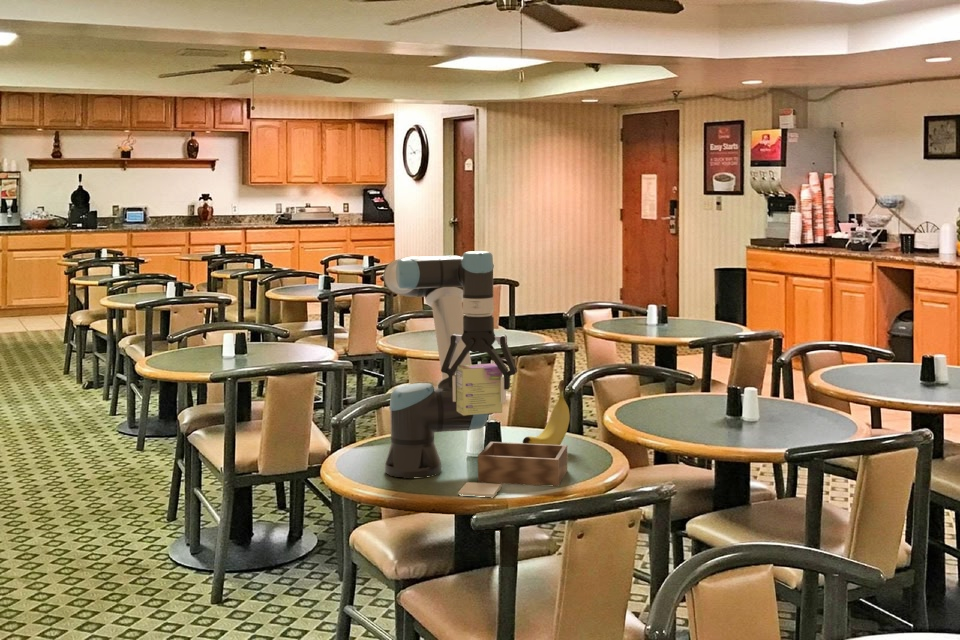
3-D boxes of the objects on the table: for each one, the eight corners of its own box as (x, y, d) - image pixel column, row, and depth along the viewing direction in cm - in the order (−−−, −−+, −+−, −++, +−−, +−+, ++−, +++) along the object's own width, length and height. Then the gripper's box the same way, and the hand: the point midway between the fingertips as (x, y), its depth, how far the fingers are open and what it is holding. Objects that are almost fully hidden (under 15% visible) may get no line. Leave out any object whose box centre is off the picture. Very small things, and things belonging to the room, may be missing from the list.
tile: (458, 496, 266) (458, 492, 266) (466, 485, 275) (466, 482, 275) (493, 498, 264) (493, 494, 264) (501, 487, 273) (501, 484, 273)
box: (495, 408, 271) (494, 362, 270) (502, 413, 266) (502, 366, 264) (455, 411, 268) (455, 365, 266) (463, 416, 263) (462, 368, 261)
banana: (534, 465, 294) (533, 393, 291) (516, 462, 297) (515, 391, 294) (574, 447, 312) (574, 379, 310) (556, 444, 316) (556, 378, 313)
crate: (478, 482, 278) (477, 455, 277) (490, 466, 293) (490, 441, 292) (558, 486, 273) (558, 459, 273) (567, 470, 288) (567, 445, 287)
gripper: (427, 315, 263) (429, 402, 266) (523, 317, 257) (523, 406, 260) (435, 311, 270) (437, 396, 273) (528, 313, 265) (529, 400, 268)
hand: (479, 401), depth 267 cm, fingers closed on box, 11 cm apart
